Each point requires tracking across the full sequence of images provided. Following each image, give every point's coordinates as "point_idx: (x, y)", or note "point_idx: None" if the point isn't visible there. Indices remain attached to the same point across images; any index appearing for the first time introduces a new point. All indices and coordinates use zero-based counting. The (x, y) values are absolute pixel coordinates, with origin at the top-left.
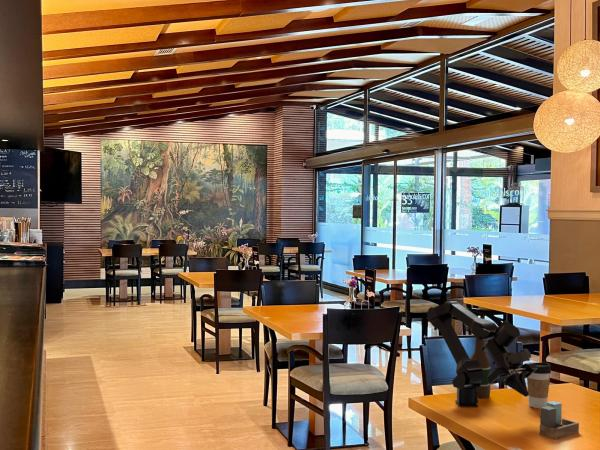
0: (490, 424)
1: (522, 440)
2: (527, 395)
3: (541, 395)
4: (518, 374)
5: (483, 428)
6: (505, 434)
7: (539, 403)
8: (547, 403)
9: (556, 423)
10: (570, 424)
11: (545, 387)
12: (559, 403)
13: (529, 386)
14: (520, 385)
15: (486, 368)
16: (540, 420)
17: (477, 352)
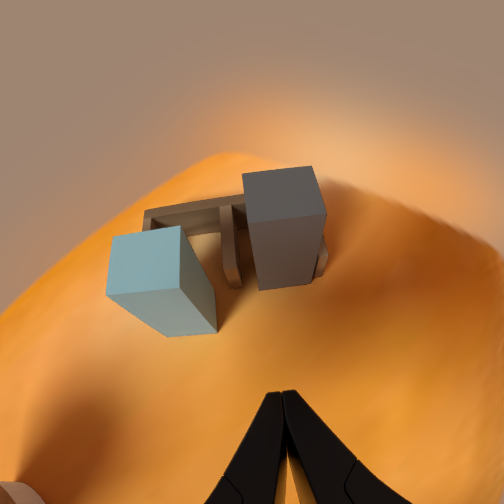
0: (424, 461)
1: (427, 249)
2: (284, 392)
3: (2, 496)
4: None
5: (479, 415)
6: (450, 326)
7: (29, 499)
8: (180, 282)
9: (234, 238)
10: (189, 208)
11: None
12: (129, 235)
13: None
14: (358, 462)
15: None
16: (317, 255)
17: None
